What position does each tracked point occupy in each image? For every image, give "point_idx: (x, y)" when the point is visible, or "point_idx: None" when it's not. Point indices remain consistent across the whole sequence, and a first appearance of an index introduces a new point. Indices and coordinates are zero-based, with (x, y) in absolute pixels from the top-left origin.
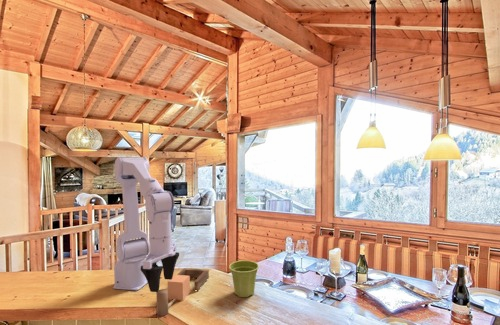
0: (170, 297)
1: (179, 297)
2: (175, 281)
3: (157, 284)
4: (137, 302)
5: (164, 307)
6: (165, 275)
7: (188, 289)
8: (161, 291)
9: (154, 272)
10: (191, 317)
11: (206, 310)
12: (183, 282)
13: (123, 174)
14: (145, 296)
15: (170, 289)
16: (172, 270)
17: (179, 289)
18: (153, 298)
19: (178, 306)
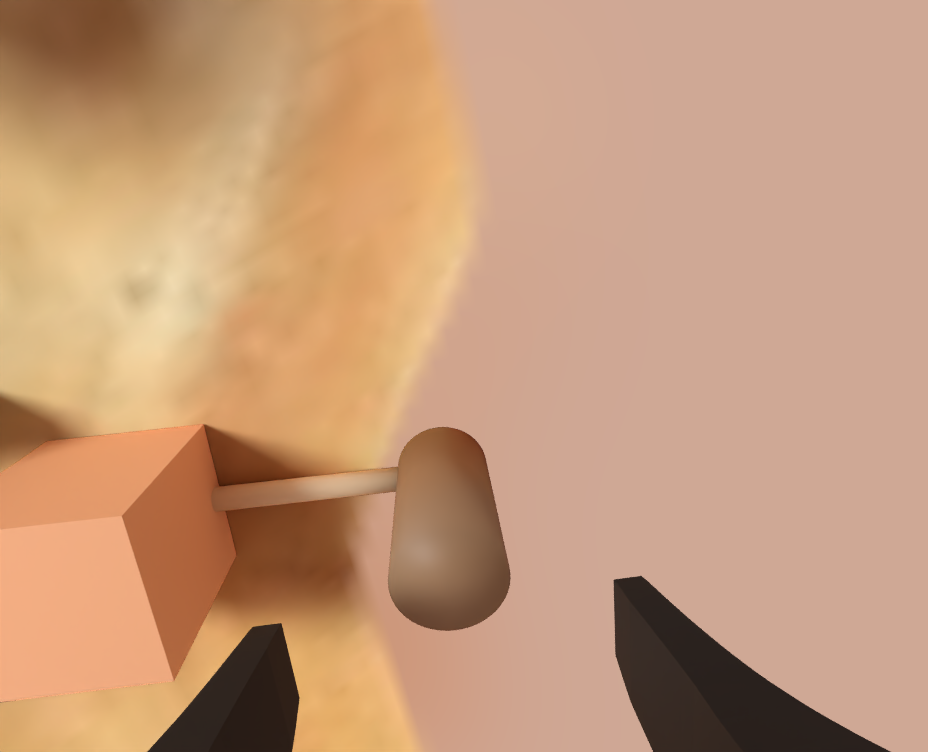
0: (226, 544)
1: (202, 468)
2: (138, 603)
3: (707, 635)
4: (363, 721)
5: (474, 463)
6: (285, 734)
7: (51, 459)
8: (445, 590)
9: None
10: (431, 196)
11: (276, 107)
12: (102, 512)
13: None
14: None
15: (198, 591)
16: (233, 717)
17: (170, 507)
18: None
19: (307, 407)
